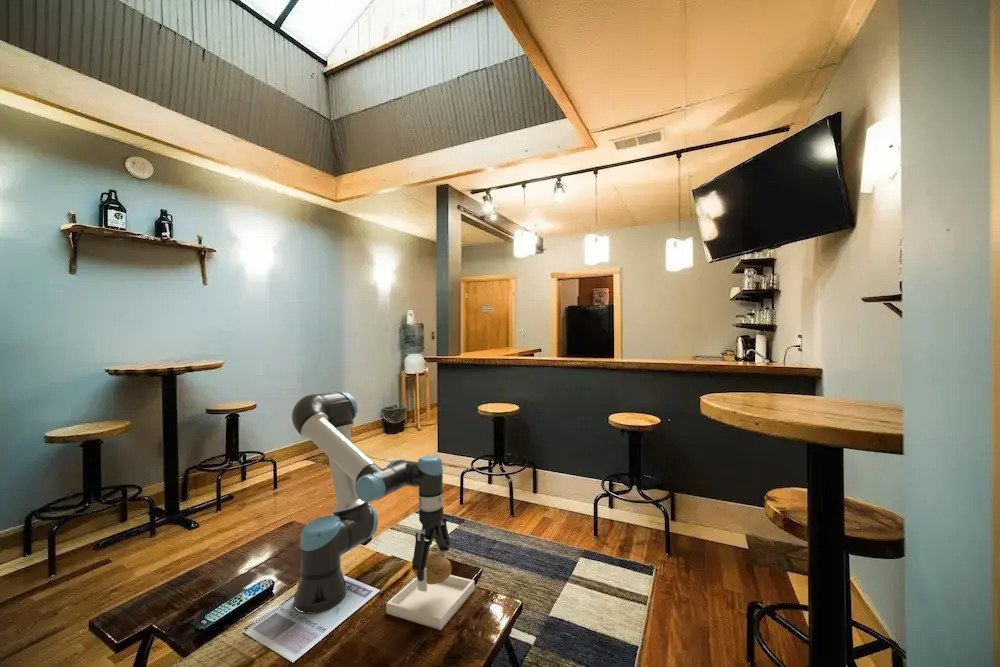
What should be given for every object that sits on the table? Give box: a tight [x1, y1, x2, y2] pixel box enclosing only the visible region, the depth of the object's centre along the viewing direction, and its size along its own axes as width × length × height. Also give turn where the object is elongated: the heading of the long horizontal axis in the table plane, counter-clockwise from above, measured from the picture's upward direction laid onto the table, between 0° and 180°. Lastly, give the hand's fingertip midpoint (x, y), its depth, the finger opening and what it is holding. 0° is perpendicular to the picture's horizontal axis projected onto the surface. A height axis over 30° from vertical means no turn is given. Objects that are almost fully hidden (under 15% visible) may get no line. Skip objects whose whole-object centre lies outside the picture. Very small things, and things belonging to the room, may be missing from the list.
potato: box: [411, 551, 453, 584], centre depth 122 cm, size 10×14×8 cm
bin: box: [385, 574, 476, 631], centre depth 122 cm, size 19×20×3 cm
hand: (432, 580), depth 122 cm, fingers closed on potato, 10 cm apart
